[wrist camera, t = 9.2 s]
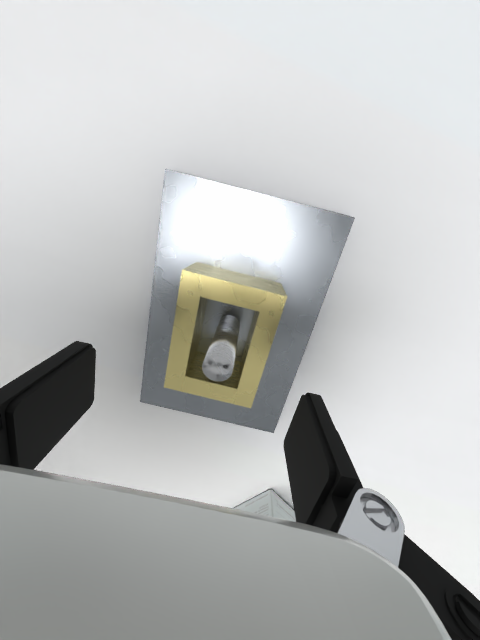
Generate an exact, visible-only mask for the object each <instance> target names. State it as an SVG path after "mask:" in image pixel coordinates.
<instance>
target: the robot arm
mask: <svg viewBox="0 0 480 640" xmlns="http://www.w3.org/2000/svg"><path fill="white" fill-rule="evenodd" d="M95 359H96V350H95V349H94V348H93V347H92V345H91V344H88V343H84V342H79V341H76V342H74V343H72V344H70V345H69V346H67V347H66V348H64V349H63V350H61V351H59V352H58V353H56V354H55V355H53V356H51V357H50V358H48V359H47V360H45V361H43V362H42V363H40V364H39V365H37V366H35V367H34V368H32V369H31V370H29V371H27V372H26V373H24V374H23V375H21V376H19V377H18V378H16V379H15V380H13V381H11V382H10V383H8V384H7V385H5V386H3V387H2V388H0V640H480V601H479V600H478V599H477V598H476V597H475V596H474V595H473V594H472V593H471V592H470V591H468V590H467V589H466V588H465V587H464V586H463V585H462V584H460V583H459V582H458V581H457V580H456V579H455V578H454V577H453V576H451V575H450V574H449V573H448V572H447V571H446V570H445V569H443V568H442V567H441V566H440V565H439V564H438V563H437V562H435V561H434V560H433V559H432V558H431V557H430V556H429V555H427V554H426V553H425V552H424V551H423V550H422V549H421V548H419V547H418V546H417V545H416V544H415V543H414V542H413V541H411V540H410V539H409V538H408V537H407V536H406V535H405V534H404V532H405V530H404V523H403V520H402V517H401V516H400V514H399V512H398V511H397V509H396V508H395V507H394V506H393V504H392V503H391V502H390V501H389V500H388V499H386V498H385V497H384V496H383V495H381V494H380V493H378V492H377V491H374V490H372V489H368V488H363V486H362V484H361V482H360V480H359V477H358V475H357V473H356V471H355V468H354V466H353V464H352V462H351V460H350V457H349V455H348V453H347V451H346V449H345V446H344V444H343V442H342V440H341V438H340V435H339V433H338V432H337V430H336V429H335V426H334V424H333V422H332V420H331V417H330V415H329V413H328V411H327V408H326V406H325V404H324V402H323V399H322V397H321V396H320V395H317V394H312V393H306V395H302V396H301V398H300V401H299V404H298V406H297V409H296V411H295V414H294V416H293V419H292V421H291V424H290V426H289V429H288V432H287V434H286V437H285V439H284V451H285V457H286V463H287V469H288V475H289V481H290V487H291V493H292V499H293V506H294V512H295V518H296V522H294V521H289V520H285V519H280V518H276V517H271V516H267V515H262V514H257V513H252V512H247V511H242V510H237V509H232V508H227V507H222V506H218V505H213V504H208V503H203V502H198V501H193V500H188V499H182V498H177V497H172V496H167V495H162V494H157V493H152V492H147V491H142V490H136V489H131V488H126V487H121V486H116V485H111V484H105V483H100V482H95V481H90V480H84V479H79V478H74V477H68V476H63V475H58V474H53V473H47V472H42V471H37V470H33V469H34V468H35V467H36V466H37V465H38V464H39V463H40V462H41V461H42V459H43V458H44V457H45V456H46V455H47V454H48V453H49V452H50V451H51V450H52V448H53V447H54V446H55V445H56V444H57V443H58V442H59V441H60V440H61V439H62V437H63V436H64V435H65V434H66V433H67V432H68V431H69V430H70V429H71V428H72V426H73V425H74V424H75V423H76V422H77V421H78V420H79V419H80V418H81V417H82V415H83V414H84V413H85V412H86V411H87V410H88V409H89V408H90V406H91V405H92V403H93V401H94V387H95Z"/></svg>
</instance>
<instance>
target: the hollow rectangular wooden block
mask: <svg viewBox="0 0 480 640" xmlns="http://www.w3.org/2000/svg"><path fill="white" fill-rule="evenodd" d="M208 299H211V300H215V301H219V302H223V303H227V304H231V305H235V306H239V307H243V308H247V309H251V310H255V312H254V315H253V319H252V323H251V326H250V330H249V333H248V337H247V340H246V344H245V347H244V351H243V355H242V358H241V362H240V361H236V360H235V361H234V367H233V372H232V375H231V376H230V377H229V378H228V379H227V380H224V381H219V382H218V381H213V380H210V379H209V378H207V377H206V376H205V374H204V373H203V370H202V364H203V361H204V359H205V356H206V354H207V353H203V352H199V351H197V350H198V345H199V340H200V335H201V330H202V325H203V320H204V315H205V310H206V305H207V300H208ZM286 299H287V295H286V293H285V290H284V288H283V286H282V284H281V283H277V282H273V281H269V280H266V279H262V278H258V277H254V276H250V275H246V274H242V273H238V272H234V271H230V270H226V269H222V268H219V267H215V266H211V265H207V264H203V263H199V262H195V263H194V264H192V265H190V266H188V267H186V268H184V269H182V273H181V279H180V286H179V292H178V298H177V305H176V311H175V318H174V324H173V331H172V337H171V344H170V350H169V357H168V363H167V369H166V376H165V382H164V388H168V389H172V390H177V391H181V392H185V393H189V394H193V395H197V396H202V397H206V398H210V399H214V400H218V401H222V402H227V403H231V404H235V405H239V406H243V407H247V408H251V407H252V404H253V401H254V398H255V395H256V392H257V389H258V385H259V382H260V379H261V376H262V373H263V370H264V367H265V364H266V361H267V358H268V355H269V352H270V349H271V345H272V342H273V339H274V336H275V333H276V330H277V327H278V324H279V321H280V318H281V315H282V312H283V309H284V306H285V302H286Z"/></svg>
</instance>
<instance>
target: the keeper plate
mask: <svg viewBox="0 0 480 640" xmlns="http://www.w3.org/2000/svg"><path fill="white" fill-rule="evenodd" d="M353 221H354V217H350V216H347V215H343V214H339V213H335V212H331V211H327V210H323V209H320V208H316V207H312V206H308V205H304V204H300V203H296V202H292V201H289V200H285V199H281V198H277V197H273V196H269V195H265V194H262V193H258V192H254V191H250V190H246V189H242V188H238V187H234V186H231V185H227V184H223V183H219V182H215V181H211V180H207V179H204V178H200V177H196V176H192V175H188V174H184V173H180V172H176V171H173V170H169V169H165V177H164V186H163V196H162V205H161V214H160V223H159V233H158V242H157V251H156V260H155V270H154V279H153V288H152V297H151V307H150V316H149V325H148V334H147V344H146V353H145V362H144V371H143V381H142V390H141V399H140V402H143V403H148V404H152V405H156V406H160V407H165V408H169V409H173V410H178V411H182V412H186V413H190V414H195V415H199V416H203V417H208V418H212V419H216V420H220V421H225V422H229V423H233V424H238V425H242V426H246V427H250V428H255V429H259V430H263V431H268V432H272V433H274V430H275V428H276V425H277V422H278V420H279V417H280V414H281V412H282V409H283V407H284V404H285V401H286V399H287V396H288V393H289V391H290V388H291V385H292V383H293V380H294V377H295V375H296V372H297V369H298V367H299V364H300V361H301V359H302V356H303V354H304V351H305V348H306V346H307V343H308V340H309V338H310V335H311V332H312V330H313V327H314V324H315V322H316V319H317V316H318V314H319V311H320V308H321V306H322V303H323V301H324V298H325V295H326V293H327V290H328V287H329V285H330V282H331V279H332V277H333V274H334V271H335V269H336V266H337V263H338V261H339V258H340V255H341V253H342V250H343V248H344V245H345V242H346V240H347V237H348V234H349V232H350V229H351V226H352V224H353ZM195 262H199V263H203V264H207V265H211V266H215V267H219V268H222V269H226V270H230V271H234V272H238V273H242V274H246V275H250V276H254V277H258V278H262V279H266V280H269V281H273V282H277V283H281V284H282V286H283V288H284V290H285V293H286V295H287V299H286V302H285V306H284V309H283V312H282V315H281V318H280V321H279V324H278V327H277V330H276V333H275V336H274V339H273V342H272V345H271V349H270V352H269V355H268V358H267V361H266V364H265V367H264V370H263V373H262V376H261V379H260V382H259V385H258V389H257V392H256V395H255V398H254V401H253V404H252V407H251V408H247V407H243V406H239V405H235V404H231V403H227V402H222V401H218V400H214V399H210V398H206V397H202V396H197V395H193V394H189V393H185V392H181V391H177V390H172V389H168V388H164V382H165V376H166V369H167V363H168V357H169V350H170V344H171V337H172V331H173V324H174V318H175V311H176V305H177V298H178V292H179V286H180V279H181V273H182V269H184V268H186V267H188V266H190V265H192V264H194V263H195ZM254 312H255V310H251V309H247V308H243V307H239V306H235V305H231V304H227V303H223V302H219V301H215V300H211V299H208V300H207V305H206V310H205V315H204V320H203V325H202V330H201V335H200V340H199V345H198V350H197V351H199V352H203V353H207V354H206V356H205V359H204V361H203V364H202V370H203V373H204V374H205V376H206V377H207V378H209V379H210V380H213V381H218V382H219V381H224V380H227V379H228V378H229V377H230V376H231V375H232V372H233V367H234V361H235V360H236V361H240V362H241V358H242V355H243V351H244V347H245V344H246V340H247V337H248V333H249V330H250V326H251V323H252V319H253V315H254Z"/></svg>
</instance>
